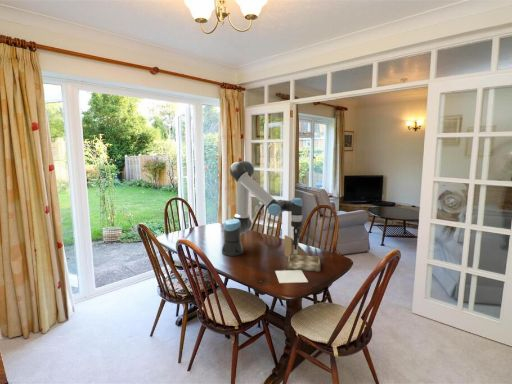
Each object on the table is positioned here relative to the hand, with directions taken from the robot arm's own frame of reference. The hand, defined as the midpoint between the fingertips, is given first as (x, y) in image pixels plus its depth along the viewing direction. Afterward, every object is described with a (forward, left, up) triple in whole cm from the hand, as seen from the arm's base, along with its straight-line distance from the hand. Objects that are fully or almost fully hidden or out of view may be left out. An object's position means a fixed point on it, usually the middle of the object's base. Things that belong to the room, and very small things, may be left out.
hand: (295, 250), depth 203 cm
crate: (+6, -17, -4) cm, 18 cm away
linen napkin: (-1, -35, -4) cm, 35 cm away
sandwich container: (+1, +1, -4) cm, 4 cm away
